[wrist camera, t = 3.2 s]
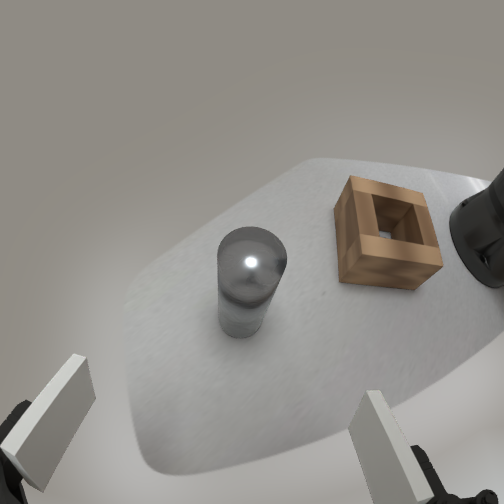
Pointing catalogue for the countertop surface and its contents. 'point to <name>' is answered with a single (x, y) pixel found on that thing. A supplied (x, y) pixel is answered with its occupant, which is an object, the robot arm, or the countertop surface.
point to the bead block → (382, 249)
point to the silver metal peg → (247, 278)
